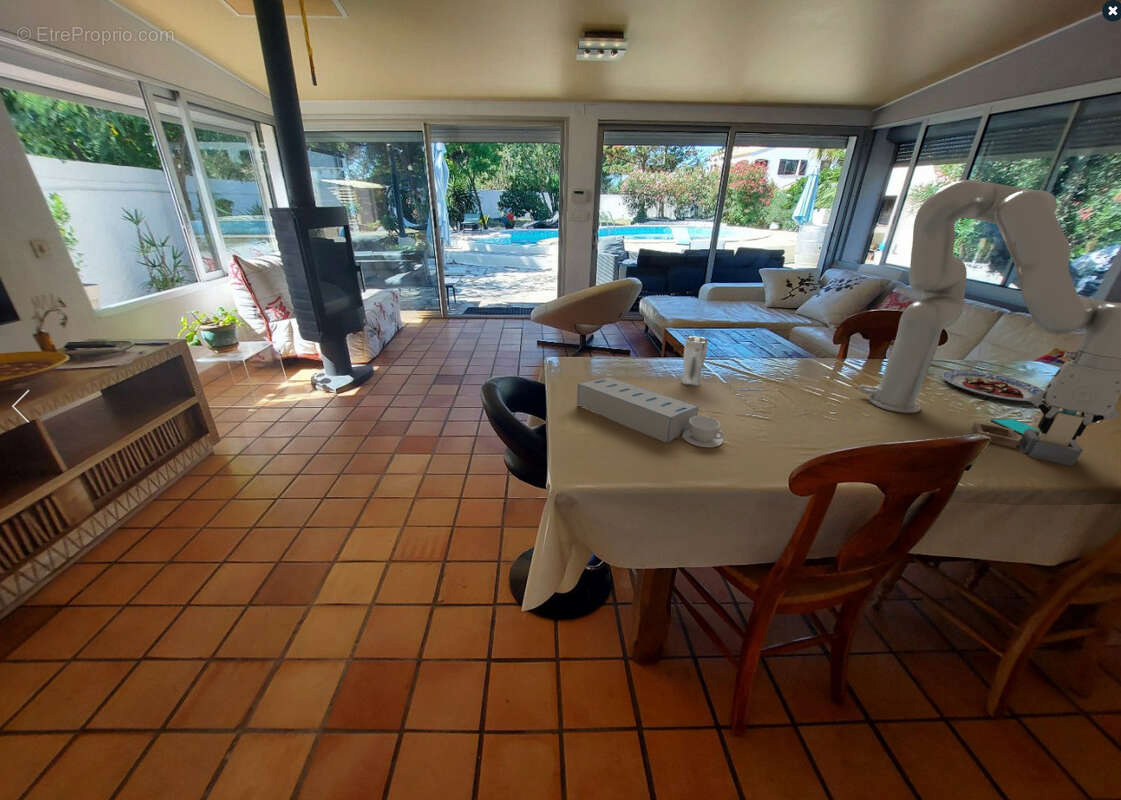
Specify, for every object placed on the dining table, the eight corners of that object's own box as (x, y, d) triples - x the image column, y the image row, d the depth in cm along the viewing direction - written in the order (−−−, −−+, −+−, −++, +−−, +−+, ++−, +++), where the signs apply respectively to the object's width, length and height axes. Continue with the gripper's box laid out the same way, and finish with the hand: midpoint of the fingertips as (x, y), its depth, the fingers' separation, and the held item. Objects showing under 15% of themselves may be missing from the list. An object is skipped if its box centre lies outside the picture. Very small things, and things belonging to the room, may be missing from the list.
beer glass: (703, 381, 141) (711, 338, 135) (697, 388, 136) (705, 343, 130) (683, 377, 145) (689, 335, 138) (676, 383, 139) (683, 340, 133)
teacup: (674, 438, 106) (676, 422, 104) (693, 425, 113) (696, 410, 111) (711, 453, 100) (715, 436, 98) (729, 438, 107) (733, 422, 105)
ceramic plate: (1067, 412, 124) (1072, 403, 122) (958, 398, 132) (962, 389, 131) (1019, 382, 145) (1023, 374, 144) (928, 371, 154) (931, 364, 153)
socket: (1024, 455, 101) (1032, 440, 99) (1016, 441, 107) (1024, 427, 106) (1076, 467, 96) (1085, 452, 95) (1065, 451, 103) (1073, 437, 101)
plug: (1039, 446, 101) (1062, 407, 96) (1035, 440, 104) (1057, 401, 99) (1063, 452, 98) (1087, 411, 94) (1059, 445, 101) (1082, 405, 97)
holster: (975, 438, 108) (978, 431, 107) (971, 427, 114) (974, 421, 113) (1015, 448, 104) (1019, 440, 103) (1009, 436, 110) (1013, 429, 109)
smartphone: (1052, 447, 104) (990, 419, 117) (1050, 450, 104) (988, 422, 118) (1078, 446, 104) (1013, 418, 118) (1076, 449, 105) (1012, 421, 118)
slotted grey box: (695, 425, 114) (699, 400, 110) (667, 444, 104) (671, 417, 101) (607, 393, 132) (609, 371, 129) (577, 407, 123) (577, 383, 120)
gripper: (1048, 357, 94) (1010, 430, 101) (1166, 374, 85) (1115, 452, 92) (1039, 349, 99) (1004, 419, 107) (1149, 364, 90) (1103, 438, 98)
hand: (1056, 433), depth 99 cm, fingers closed on plug, 4 cm apart
